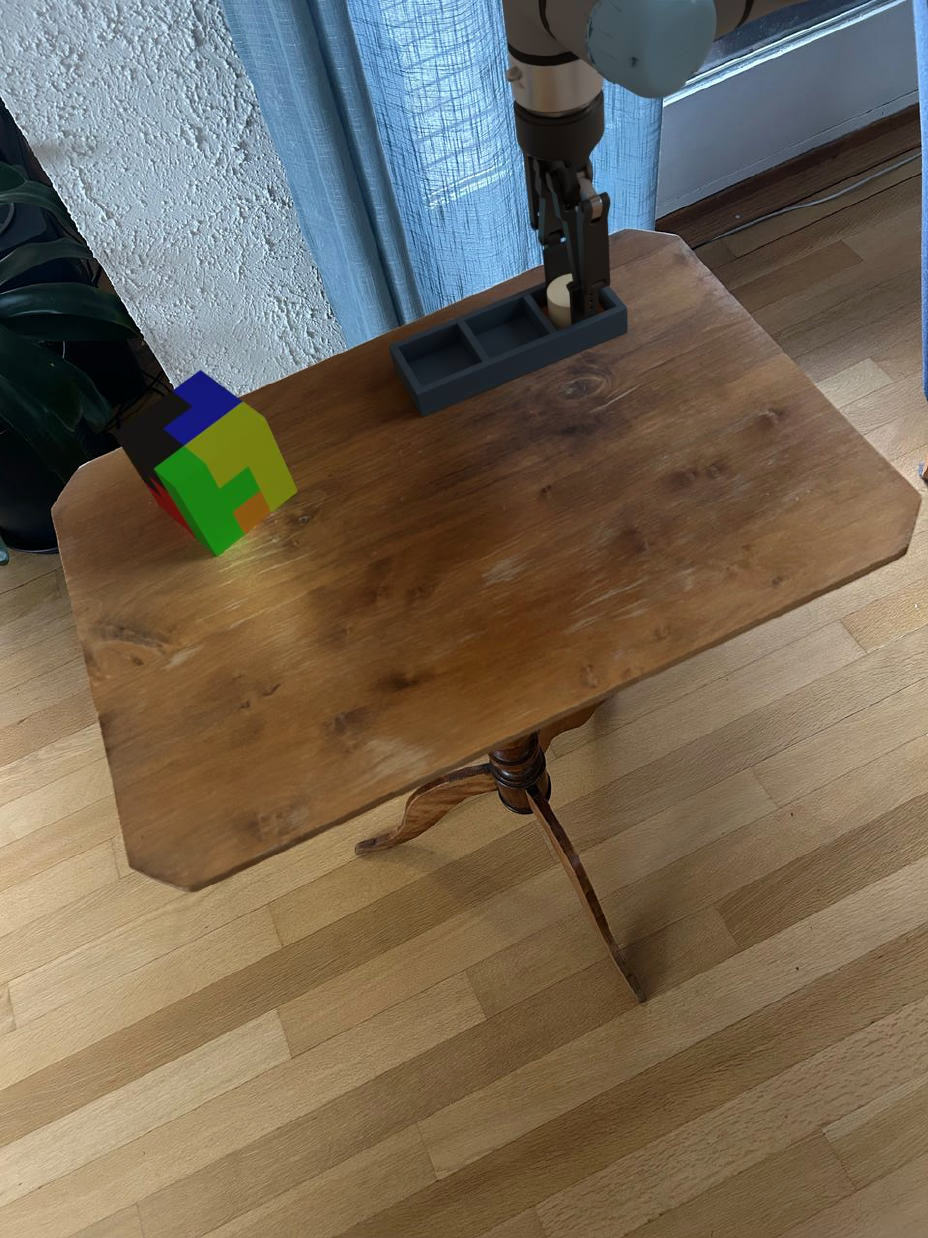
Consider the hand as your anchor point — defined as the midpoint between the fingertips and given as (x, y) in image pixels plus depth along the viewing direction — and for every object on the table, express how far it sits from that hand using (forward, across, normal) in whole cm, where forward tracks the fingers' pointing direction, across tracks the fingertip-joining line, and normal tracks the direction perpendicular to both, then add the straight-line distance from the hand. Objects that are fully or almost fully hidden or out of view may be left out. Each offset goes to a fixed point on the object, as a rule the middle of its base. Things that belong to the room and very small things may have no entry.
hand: (573, 315), depth 101 cm
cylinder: (0, 0, 0) cm, 0 cm away
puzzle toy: (+1, +4, -39) cm, 40 cm away
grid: (+1, 0, -7) cm, 7 cm away
